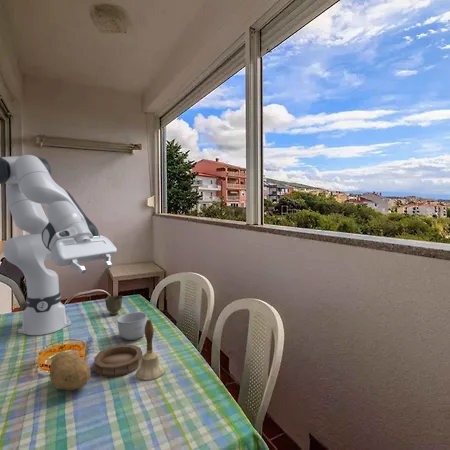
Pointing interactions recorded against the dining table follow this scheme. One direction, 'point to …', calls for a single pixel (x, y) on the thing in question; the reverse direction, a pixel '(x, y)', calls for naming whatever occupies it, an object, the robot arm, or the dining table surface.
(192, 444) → the dining table surface
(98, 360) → the tray
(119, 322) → the teacup
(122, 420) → the dining table surface
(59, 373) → the potato
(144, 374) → the hand bell
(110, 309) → the cup
